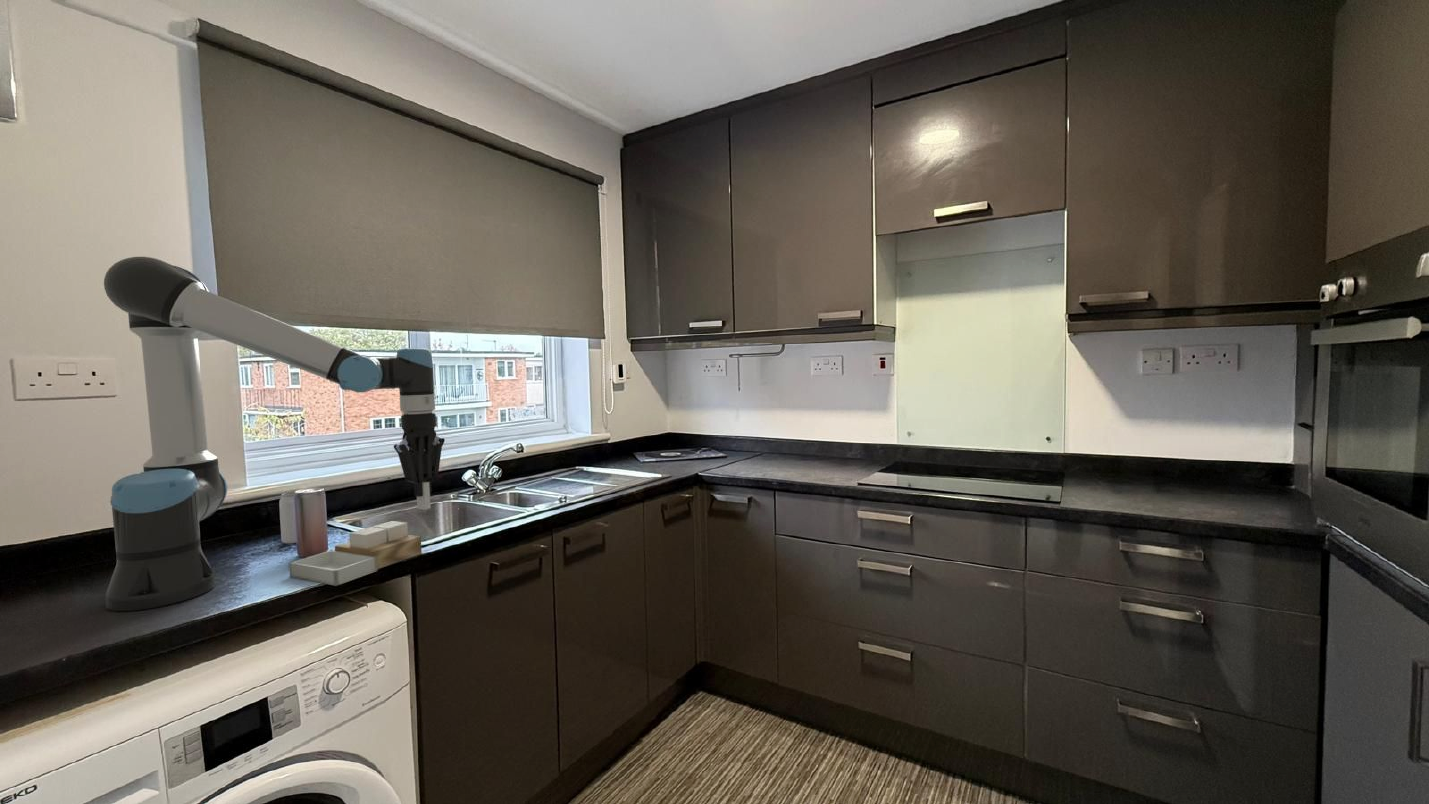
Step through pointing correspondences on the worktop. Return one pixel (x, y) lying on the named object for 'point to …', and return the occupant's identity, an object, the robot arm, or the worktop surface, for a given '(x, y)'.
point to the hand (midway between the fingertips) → (424, 508)
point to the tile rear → (394, 529)
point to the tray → (333, 567)
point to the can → (287, 518)
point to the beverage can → (311, 522)
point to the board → (388, 550)
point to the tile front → (368, 537)
